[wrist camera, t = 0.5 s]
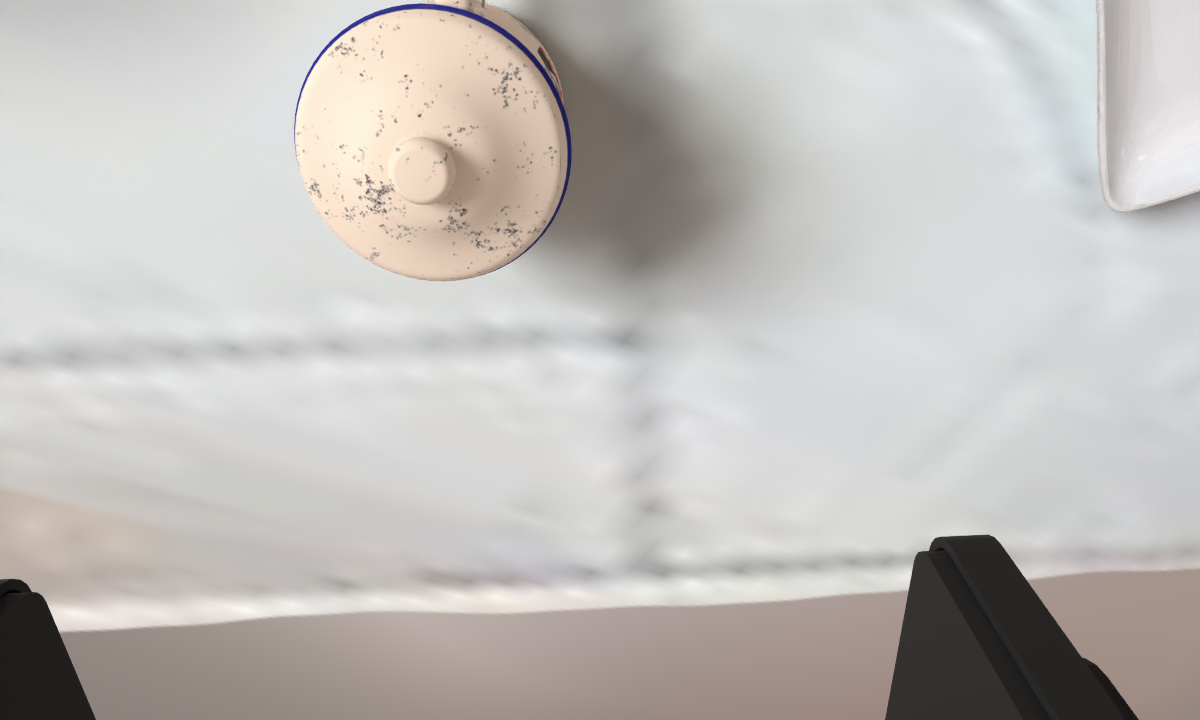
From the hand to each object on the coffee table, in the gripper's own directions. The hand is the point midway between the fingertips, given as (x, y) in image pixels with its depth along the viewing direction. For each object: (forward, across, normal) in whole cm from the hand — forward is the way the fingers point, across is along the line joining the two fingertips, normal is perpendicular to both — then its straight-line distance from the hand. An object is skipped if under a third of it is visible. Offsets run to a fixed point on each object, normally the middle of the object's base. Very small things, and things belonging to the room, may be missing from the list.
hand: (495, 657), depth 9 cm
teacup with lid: (+30, +3, -2) cm, 30 cm away
